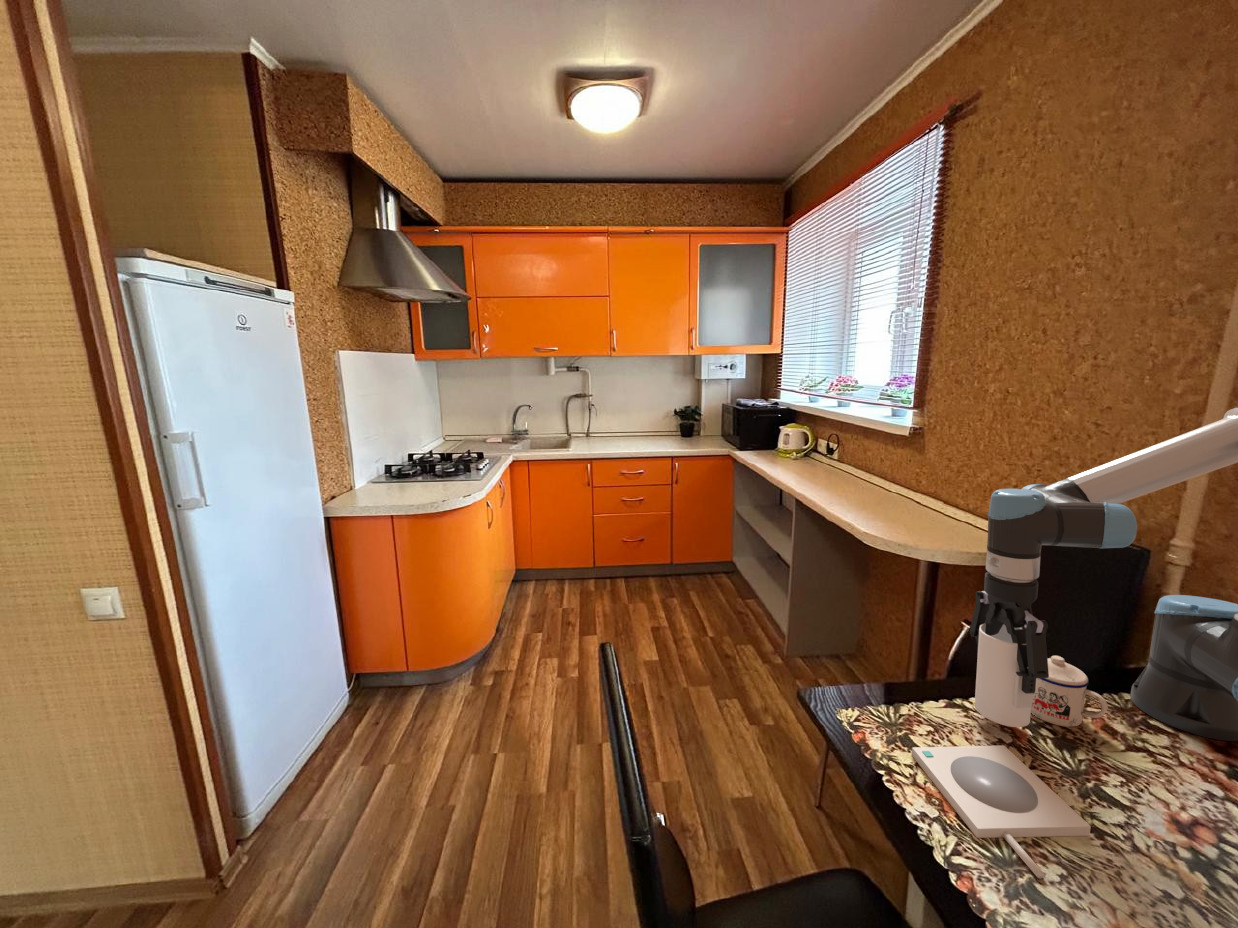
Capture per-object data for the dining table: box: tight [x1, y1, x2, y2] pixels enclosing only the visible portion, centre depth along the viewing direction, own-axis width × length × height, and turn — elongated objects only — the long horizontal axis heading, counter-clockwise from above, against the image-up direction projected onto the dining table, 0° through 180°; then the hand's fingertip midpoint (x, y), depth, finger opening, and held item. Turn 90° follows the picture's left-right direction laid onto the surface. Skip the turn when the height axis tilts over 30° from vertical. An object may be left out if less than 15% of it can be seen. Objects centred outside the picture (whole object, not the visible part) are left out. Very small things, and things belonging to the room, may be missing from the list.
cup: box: [974, 623, 1032, 728], centre depth 91 cm, size 8×8×16 cm
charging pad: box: [911, 745, 1091, 880], centre depth 75 cm, size 16×22×2 cm
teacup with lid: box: [1031, 655, 1109, 728], centre depth 94 cm, size 12×9×12 cm
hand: (1003, 691), depth 91 cm, fingers closed on cup, 8 cm apart
